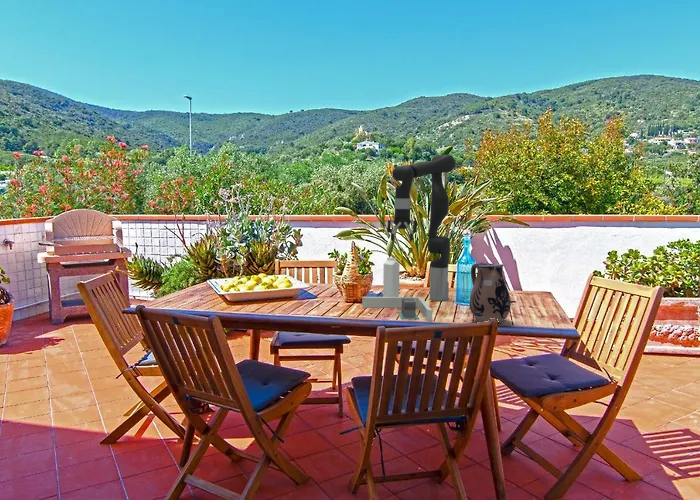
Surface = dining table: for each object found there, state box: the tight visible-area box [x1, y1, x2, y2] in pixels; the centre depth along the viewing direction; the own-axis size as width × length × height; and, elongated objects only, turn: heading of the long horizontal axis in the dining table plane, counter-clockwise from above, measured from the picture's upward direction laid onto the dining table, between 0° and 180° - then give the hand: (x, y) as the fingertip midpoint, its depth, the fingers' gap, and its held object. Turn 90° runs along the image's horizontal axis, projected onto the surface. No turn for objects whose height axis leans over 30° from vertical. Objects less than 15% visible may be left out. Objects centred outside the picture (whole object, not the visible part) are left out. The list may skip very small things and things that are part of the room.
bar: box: [401, 296, 417, 318], centre depth 249 cm, size 11×5×7 cm, turn 1°
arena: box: [361, 296, 433, 322], centre depth 253 cm, size 29×30×5 cm
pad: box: [397, 311, 420, 320], centre depth 250 cm, size 8×14×1 cm, turn 1°
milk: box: [382, 257, 401, 297], centre depth 286 cm, size 6×6×22 cm
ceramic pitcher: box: [468, 262, 512, 324], centre depth 239 cm, size 18×21×25 cm
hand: (401, 241), depth 266 cm, fingers open, 8 cm apart
